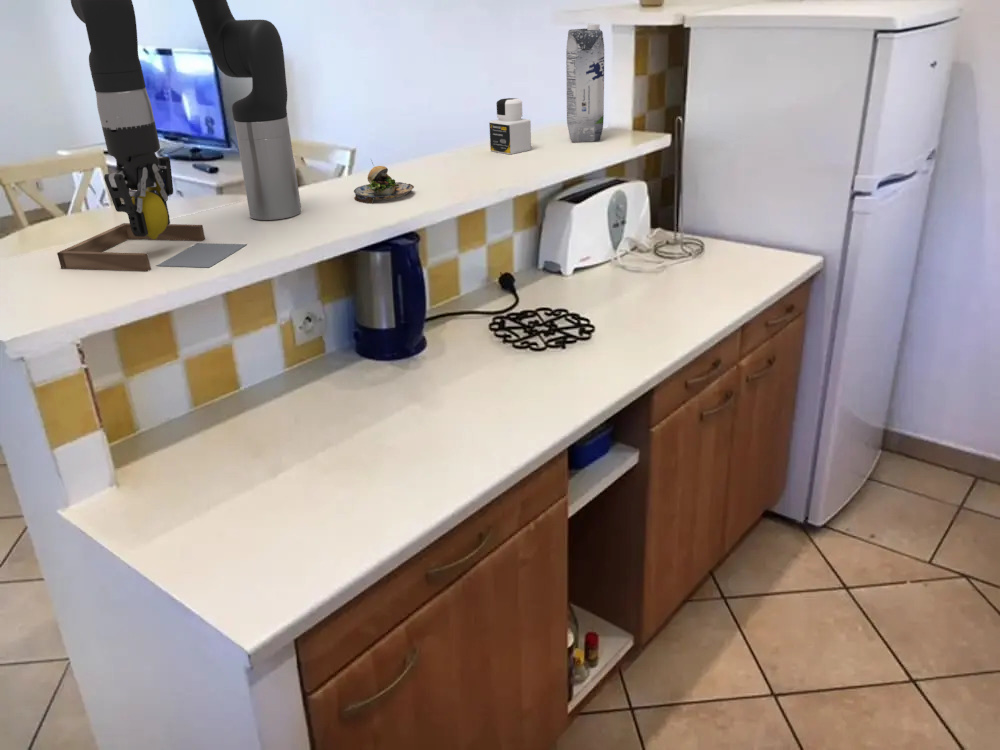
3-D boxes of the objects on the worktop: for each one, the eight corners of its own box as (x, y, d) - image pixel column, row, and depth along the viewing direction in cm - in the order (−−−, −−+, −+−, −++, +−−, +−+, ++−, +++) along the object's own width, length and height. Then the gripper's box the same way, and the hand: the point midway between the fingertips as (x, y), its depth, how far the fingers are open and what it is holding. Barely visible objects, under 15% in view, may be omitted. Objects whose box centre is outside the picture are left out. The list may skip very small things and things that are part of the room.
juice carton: (567, 143, 209) (567, 25, 197) (566, 136, 218) (565, 23, 207) (604, 142, 208) (605, 24, 197) (601, 135, 218) (602, 21, 206)
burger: (370, 208, 159) (366, 168, 156) (344, 197, 168) (339, 159, 165) (426, 197, 165) (423, 159, 162) (397, 187, 174) (394, 150, 171)
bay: (126, 237, 146) (123, 223, 145) (205, 239, 143) (202, 224, 142) (61, 268, 131) (56, 252, 130) (147, 271, 128) (143, 255, 127)
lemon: (178, 234, 138) (168, 185, 134) (162, 244, 133) (151, 193, 129) (146, 234, 138) (135, 185, 135) (129, 244, 133) (117, 194, 130)
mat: (197, 243, 141) (197, 243, 141) (246, 244, 139) (246, 244, 139) (156, 266, 130) (156, 265, 130) (209, 267, 128) (209, 267, 128)
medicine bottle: (490, 151, 204) (487, 99, 199) (511, 146, 208) (509, 96, 203) (510, 154, 199) (508, 101, 194) (531, 150, 203) (530, 98, 198)
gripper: (134, 113, 135) (157, 218, 142) (75, 129, 122) (103, 243, 129) (176, 113, 133) (197, 218, 140) (120, 129, 121) (147, 244, 128)
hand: (152, 229), depth 135 cm, fingers closed on lemon, 5 cm apart
